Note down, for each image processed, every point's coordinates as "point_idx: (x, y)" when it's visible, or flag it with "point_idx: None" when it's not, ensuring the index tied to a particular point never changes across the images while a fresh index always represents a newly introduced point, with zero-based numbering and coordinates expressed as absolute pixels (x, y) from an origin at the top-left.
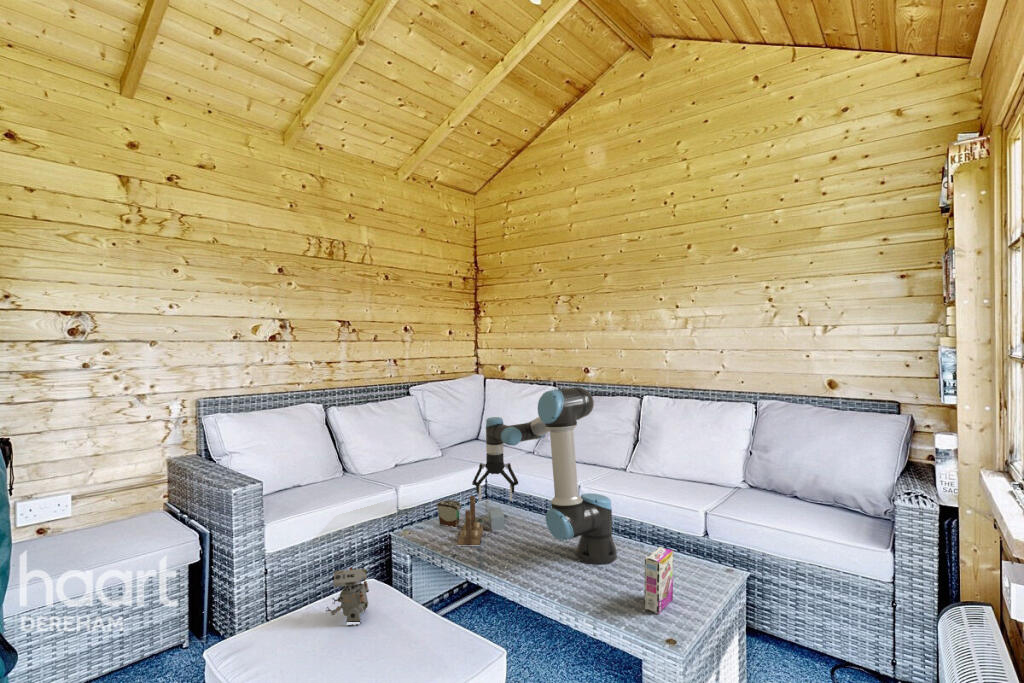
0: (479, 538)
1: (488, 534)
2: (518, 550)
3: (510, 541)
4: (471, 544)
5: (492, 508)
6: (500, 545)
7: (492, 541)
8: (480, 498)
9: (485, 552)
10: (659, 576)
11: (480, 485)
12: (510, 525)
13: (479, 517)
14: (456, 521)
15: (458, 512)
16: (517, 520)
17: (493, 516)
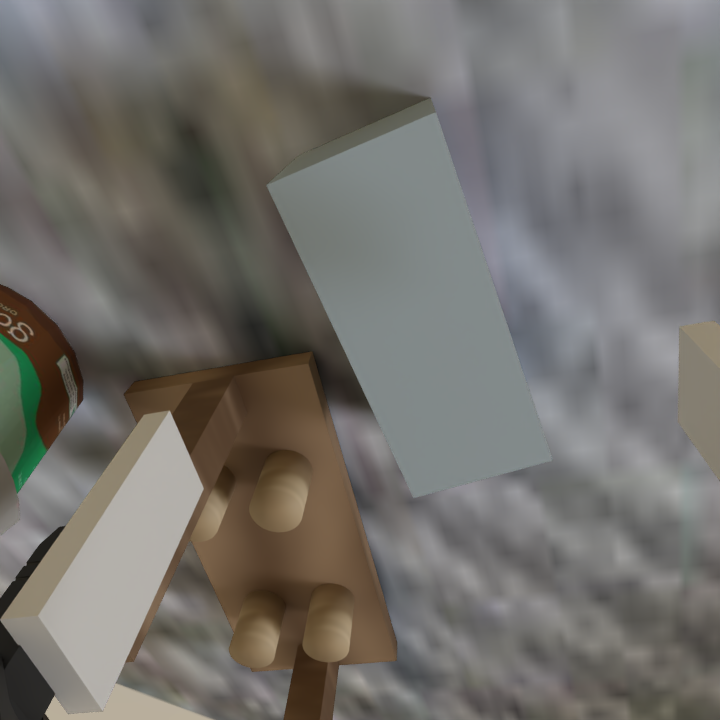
0: (369, 600)
1: (401, 474)
2: (670, 665)
3: (603, 563)
4: (342, 659)
5: (331, 198)
6: (535, 619)
7: (464, 574)
8: (185, 518)
9: (456, 696)
10: None
11: (52, 649)
12: (572, 255)
13: (155, 74)
14: (56, 437)
15: (15, 465)
16: (647, 83)
17: (422, 456)
